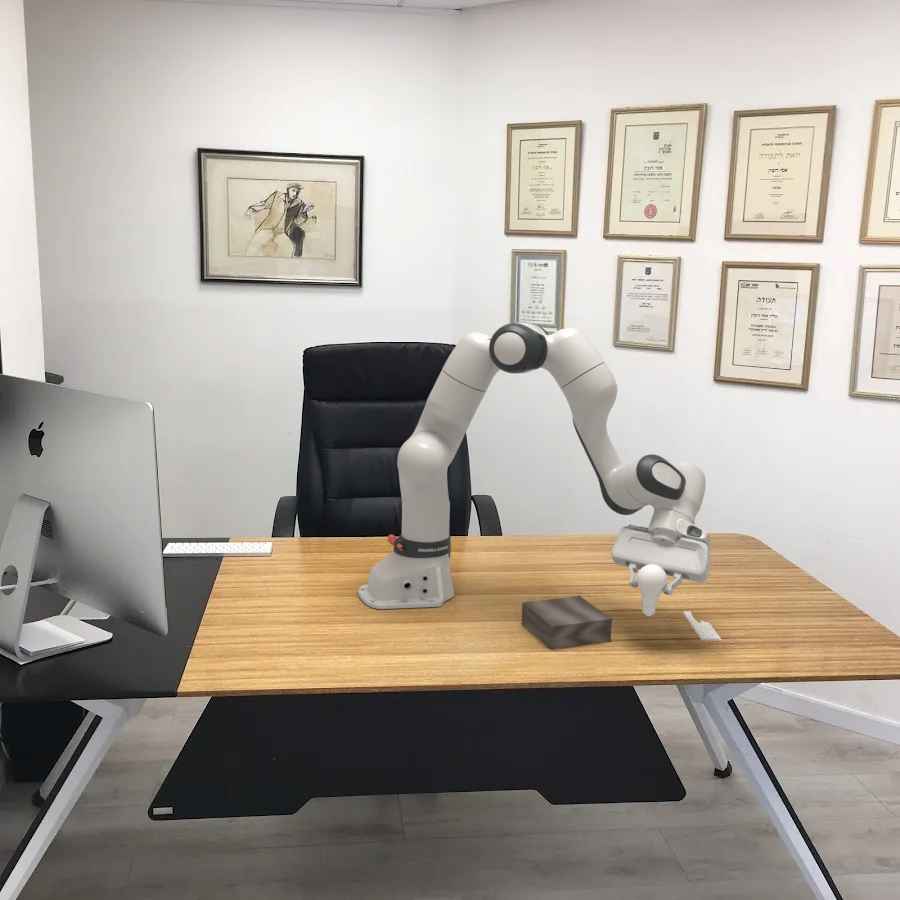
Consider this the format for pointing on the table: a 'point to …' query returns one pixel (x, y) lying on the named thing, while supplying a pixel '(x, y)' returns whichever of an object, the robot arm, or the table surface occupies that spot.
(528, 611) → the charcoal block
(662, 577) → the lightbulb
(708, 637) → the white plastic blade
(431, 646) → the table surface
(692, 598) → the table surface
